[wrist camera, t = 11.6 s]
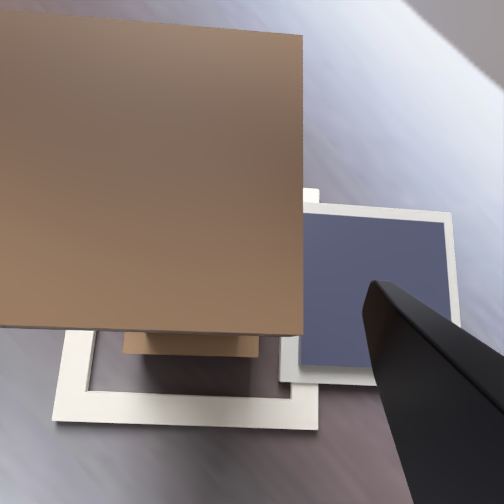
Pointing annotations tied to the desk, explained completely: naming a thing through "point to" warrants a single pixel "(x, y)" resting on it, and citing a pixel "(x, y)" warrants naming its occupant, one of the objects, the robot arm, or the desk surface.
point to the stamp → (151, 182)
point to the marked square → (174, 396)
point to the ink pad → (363, 283)
